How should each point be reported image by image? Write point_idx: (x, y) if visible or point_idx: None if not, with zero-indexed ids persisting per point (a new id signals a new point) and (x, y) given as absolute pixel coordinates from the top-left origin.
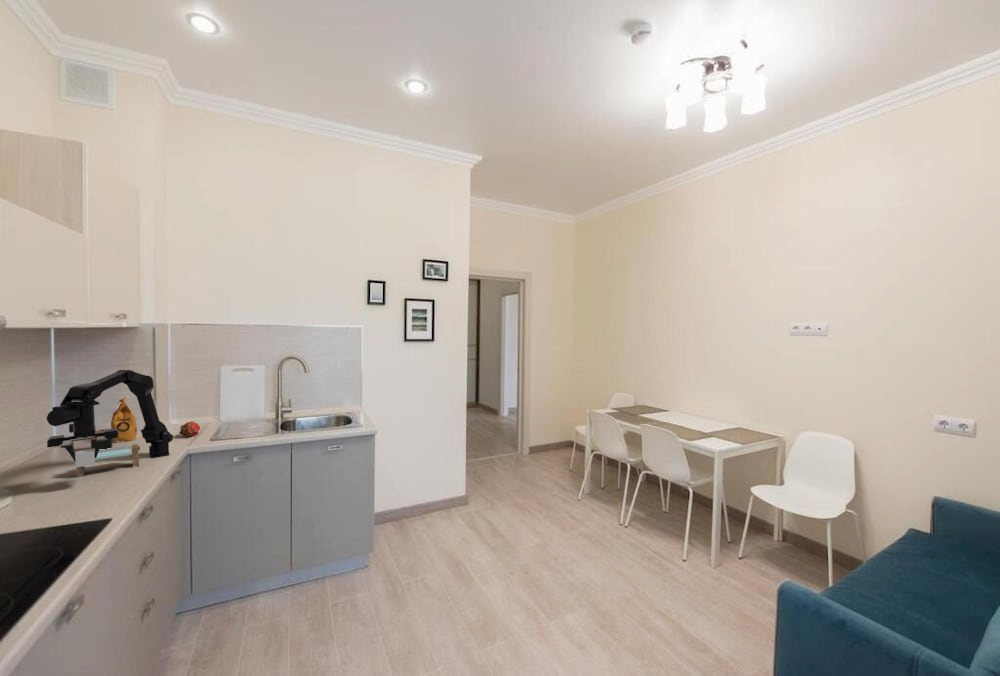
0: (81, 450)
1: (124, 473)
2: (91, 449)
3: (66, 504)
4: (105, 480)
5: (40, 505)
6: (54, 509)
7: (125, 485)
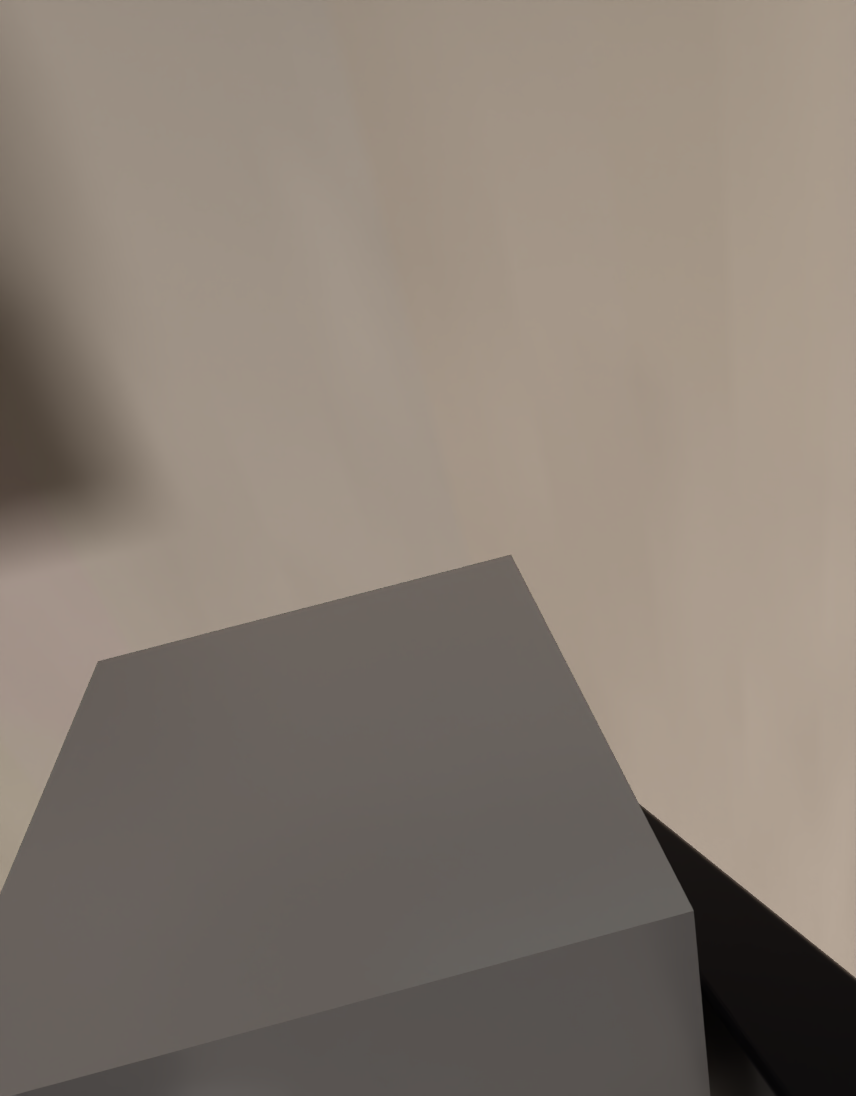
0: (145, 1087)
1: (783, 23)
2: (578, 1041)
3: None
4: (536, 339)
5: None
6: None
7: (793, 684)
